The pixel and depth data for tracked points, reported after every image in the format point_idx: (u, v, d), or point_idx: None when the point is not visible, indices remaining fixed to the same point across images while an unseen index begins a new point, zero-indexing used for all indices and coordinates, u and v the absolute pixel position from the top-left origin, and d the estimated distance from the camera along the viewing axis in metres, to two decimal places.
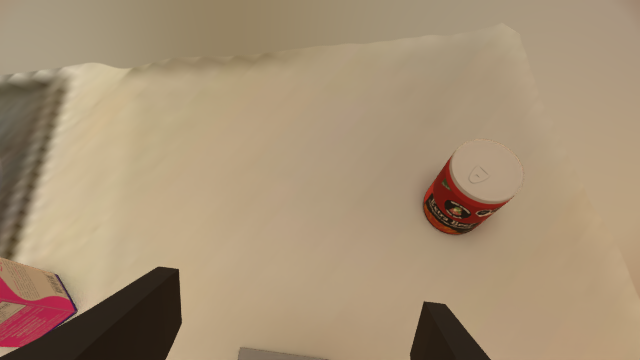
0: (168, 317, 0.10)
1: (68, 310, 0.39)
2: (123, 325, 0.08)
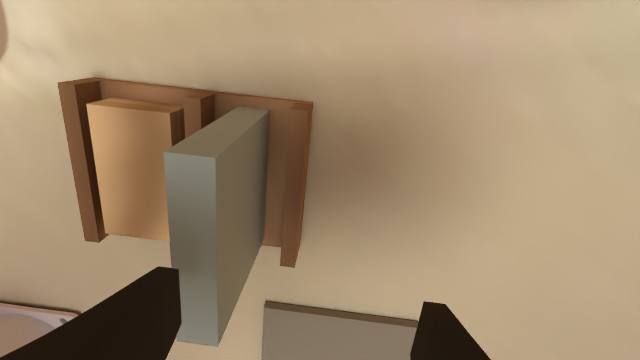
0: (168, 317, 0.10)
1: None
2: (122, 325, 0.08)
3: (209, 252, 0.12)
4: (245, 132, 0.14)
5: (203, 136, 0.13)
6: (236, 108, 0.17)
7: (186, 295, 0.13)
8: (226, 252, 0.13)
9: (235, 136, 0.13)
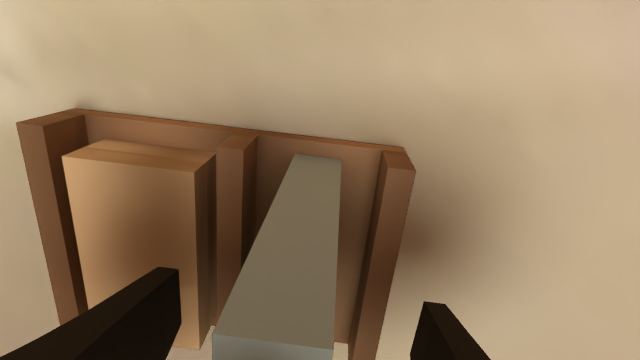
0: (168, 317, 0.10)
1: None
2: (122, 325, 0.08)
3: None
4: (338, 226, 0.08)
5: (274, 251, 0.07)
6: (293, 159, 0.11)
7: None
8: None
9: (330, 244, 0.07)
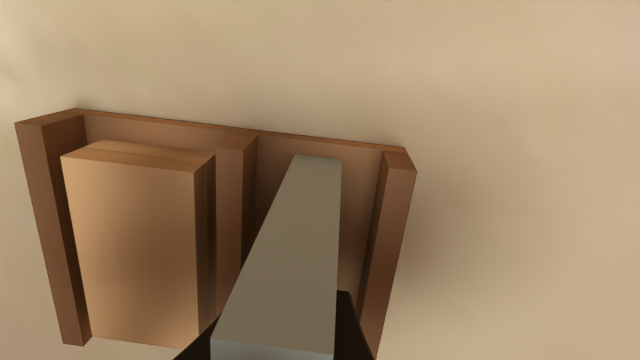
0: None
1: None
2: None
3: None
4: (338, 228, 0.08)
5: (274, 253, 0.06)
6: (294, 159, 0.11)
7: None
8: None
9: (330, 246, 0.07)
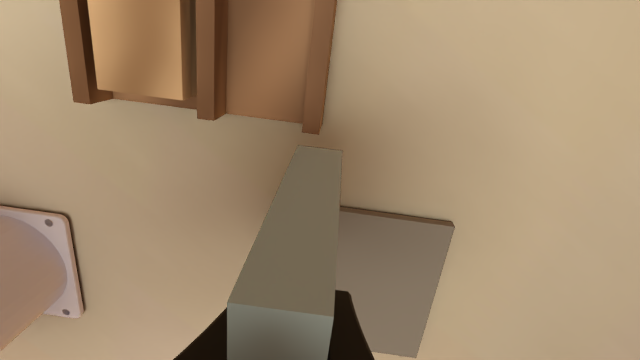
0: None
1: None
2: None
3: None
4: (338, 212, 0.08)
5: (280, 234, 0.07)
6: (296, 150, 0.12)
7: None
8: None
9: (331, 228, 0.08)
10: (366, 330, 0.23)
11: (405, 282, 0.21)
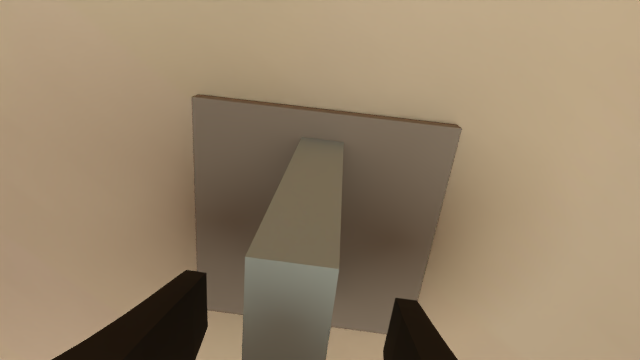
0: (196, 321, 0.10)
1: None
2: (158, 330, 0.08)
3: None
4: (341, 192, 0.09)
5: (289, 207, 0.08)
6: (300, 141, 0.13)
7: None
8: None
9: (335, 203, 0.08)
10: (336, 297, 0.16)
11: (389, 222, 0.14)
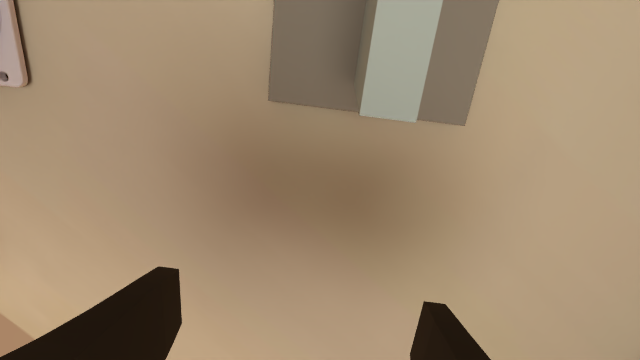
0: (168, 317, 0.10)
1: None
2: (122, 325, 0.08)
3: None
4: None
5: None
6: None
7: (391, 31, 0.09)
8: None
9: None
10: None
11: None
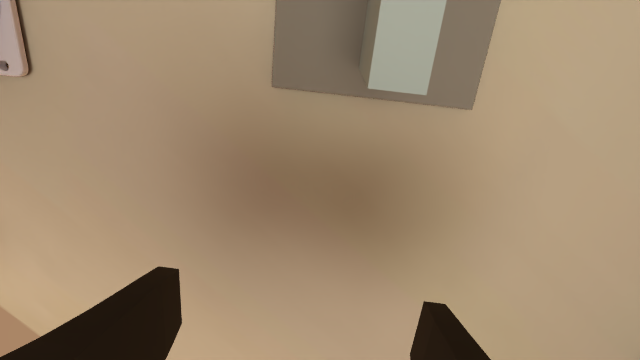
0: (168, 317, 0.10)
1: None
2: (122, 325, 0.08)
3: None
4: None
5: None
6: None
7: None
8: None
9: None
10: None
11: None
